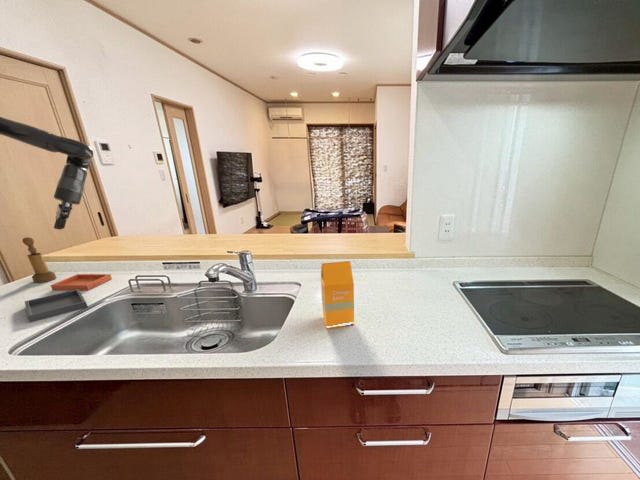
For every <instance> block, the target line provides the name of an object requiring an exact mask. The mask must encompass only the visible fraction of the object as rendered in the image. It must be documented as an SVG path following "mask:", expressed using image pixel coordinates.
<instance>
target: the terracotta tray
mask: <svg viewBox="0 0 640 480" xmlns="http://www.w3.org/2000/svg"><path fill="white" fill-rule="evenodd" d="M112 279H113V278H112V274H110V273H76V274H73V275H72V276H69V277H66V278H64V279H63V280H62V279H61V280H60V281H57V282H54V283H52V284H50V285H49V286H50V288H51V290H52V291H72V290H76V289H79V291H90V290H92V289H95V288H96V287H98V286H100V285H102V284H104V283H106V282H108V281H111V280H112Z"/></svg>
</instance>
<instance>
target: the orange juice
mask: <svg viewBox="0 0 640 480" xmlns="http://www.w3.org/2000/svg"><path fill="white" fill-rule="evenodd" d="M353 278H354V277H353V270H352V263H351V260H348V261H336V262H323V263H321V270H320V285H321V286H320V287H321V303H322V305H321V306H322V319H323V322H324V324H325V323H326V325H325V329H326V330H329V329H337V328H343V327H342V326H338V327H331V328H326V326H333V325H338V324H343V323H349V322H354V323H355V293H354V292H355V287H354V284H355V283H354V279H353ZM323 316H324V318H323ZM324 320H325V321H324Z"/></svg>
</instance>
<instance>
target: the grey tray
mask: <svg viewBox="0 0 640 480" xmlns="http://www.w3.org/2000/svg"><path fill="white" fill-rule="evenodd" d="M24 305H25V311H26V312H25V313H26V317H27V319H28V321H29V323H33V322H37V321H40V320H44V319H49V318H52V317H56V316H60V315H63V314H67V313H71V312H74V311H78V310H82V309H86V308H89V306H88V304H87V301H86V299H85V298H84V296H83V294H82V292H81V290H79V289H76V290H67V291H64V292H60V293H55V294H50V295H46V296H41V297H37V298H33V299H29V300H24Z"/></svg>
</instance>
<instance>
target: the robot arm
mask: <svg viewBox="0 0 640 480" xmlns="http://www.w3.org/2000/svg"><path fill="white" fill-rule="evenodd" d="M0 135H1V136H4V137H6V138H9V139H12V140H14V141H18V142H21V143H23V144H26V145H29V146H32V147H36V148H37V149H41V150H44V151H47V152H50V153H59V154H64V155H66V159H65V165H64V166H63V167H62V171H61V174H60V177H59V179H58V181H57V184H56V188H55V191H54V195H53V198H54V199H55V200H57V201H59V202H60V203H58V204H57V207H56V212H55V222H54V225H53V229H55V230H58V231H59V230H60V231H61V230H63V229H65V227H66V224H67V220H68V219H69V218H70V216H71V213H72V211H73V205H75V206H76V205H78V206H79V205H80V204H81V201H82V198H83V194H84V191H85V185H86V184H85V183H86V182H87V181H86V180H87V177H88V169H89V167H90V165H91V161H92V159H93V157H94V150H93V148H92V147H91V146H89V145H88V144H86V143H84V142H82V141H80V140H76V139H72V138H68V137H65V136H61V135H57V134H54V133H52V132H49V131H48V130H44V129H41V128H39V127H35V126H33V125H29V124H26V123H23V122H20V121H16V120H12V119H9V118H5V117H2V116H0Z"/></svg>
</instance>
